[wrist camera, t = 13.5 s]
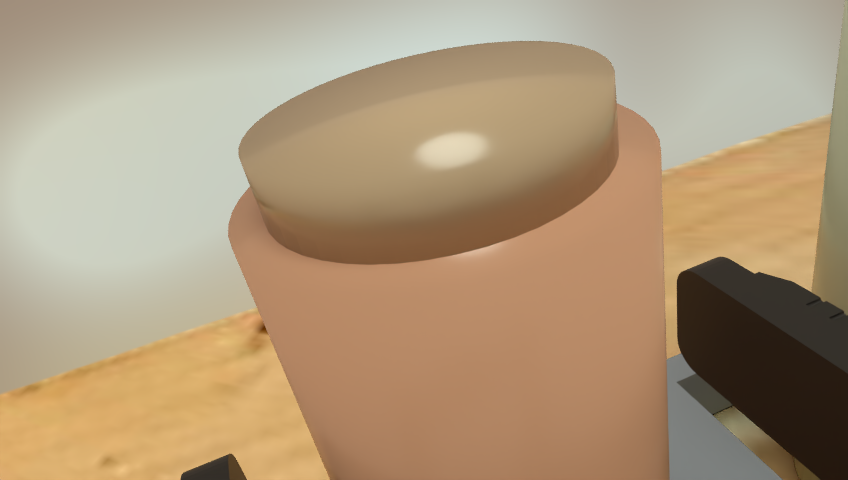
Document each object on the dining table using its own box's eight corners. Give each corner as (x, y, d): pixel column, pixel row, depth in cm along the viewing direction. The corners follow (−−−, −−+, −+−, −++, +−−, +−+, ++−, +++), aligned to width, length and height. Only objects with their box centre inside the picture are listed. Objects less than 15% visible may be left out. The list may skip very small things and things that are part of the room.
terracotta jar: (486, 889, 13) (204, 280, 5) (400, 614, 18) (197, 111, 10) (735, 745, 14) (783, 78, 6) (587, 526, 19) (520, 14, 12)
